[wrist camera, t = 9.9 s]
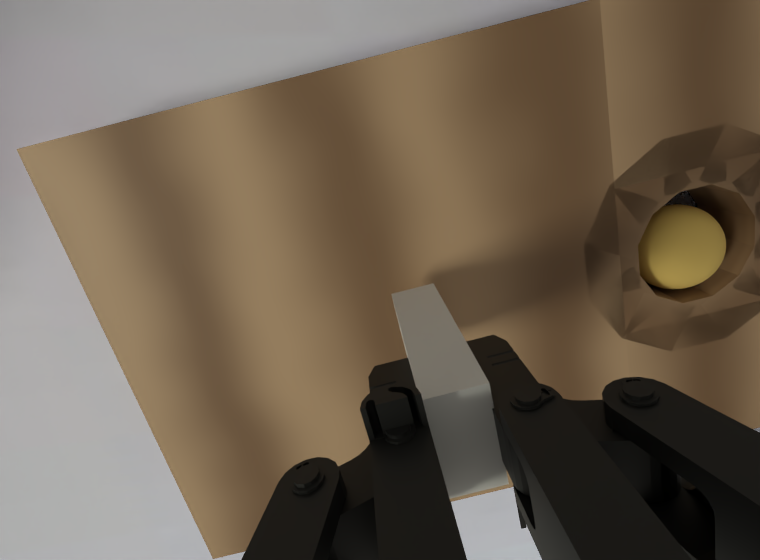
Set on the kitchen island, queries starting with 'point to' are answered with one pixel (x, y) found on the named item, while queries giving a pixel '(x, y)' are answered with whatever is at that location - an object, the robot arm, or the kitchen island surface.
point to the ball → (680, 247)
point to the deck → (418, 231)
